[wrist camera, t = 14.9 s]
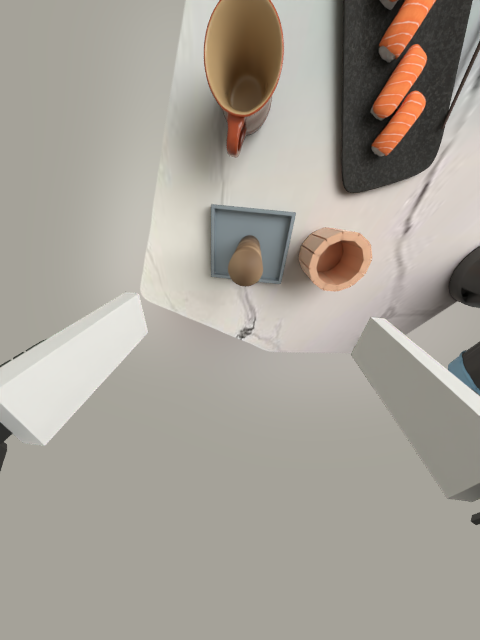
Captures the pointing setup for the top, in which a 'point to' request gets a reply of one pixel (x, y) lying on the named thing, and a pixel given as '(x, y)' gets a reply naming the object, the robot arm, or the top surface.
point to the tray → (260, 223)
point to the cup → (335, 258)
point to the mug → (243, 64)
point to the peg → (246, 262)
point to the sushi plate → (398, 85)
